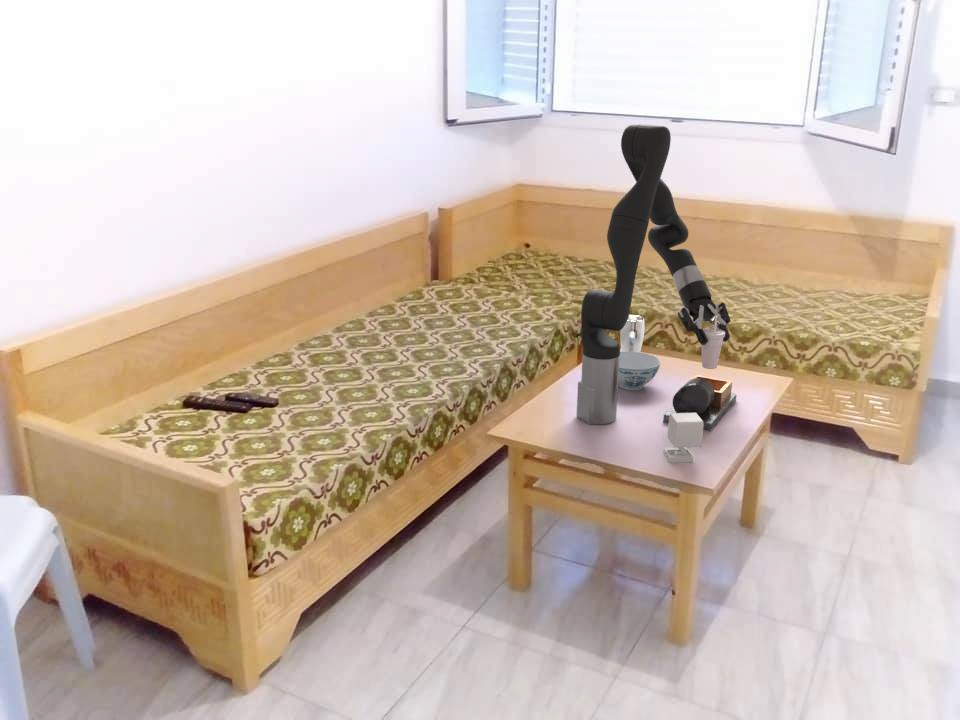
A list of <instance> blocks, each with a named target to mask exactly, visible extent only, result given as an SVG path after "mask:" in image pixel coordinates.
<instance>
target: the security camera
mask: <svg viewBox="0 0 960 720" xmlns="http://www.w3.org/2000/svg"><path fill="white" fill-rule="evenodd" d="M703 426H704V423H703V421H702V419H701V418H700V417H699V416H698V414H697V413H670V414H669V423H668V429H667V439H668V440H669V441H670V443H671V445H672V446H673V447H664V448H663V455H664V456H665V458H666V459H667V461H668V462H669V463H671V464H675V463H676V464H678V463H693V462H694V455H693V454H692V452H691V451H690V450H689V447H690V448H691V447H693V448H694V447H698V448H701V447H702V445H703V435H704V434H703V433H704V430H703Z"/></svg>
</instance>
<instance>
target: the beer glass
mask: <svg viewBox="0 0 960 720" xmlns="http://www.w3.org/2000/svg"><path fill="white" fill-rule="evenodd" d="M619 336H620V337H619V338H620V350H621V352H641V350H642V346H643V342H644V339H645V337H644V336H645V317H643V315H635V314H629V316H628V319H627V322H626V324H625V326H624V327H623V329H621V330H620V331H619Z"/></svg>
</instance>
